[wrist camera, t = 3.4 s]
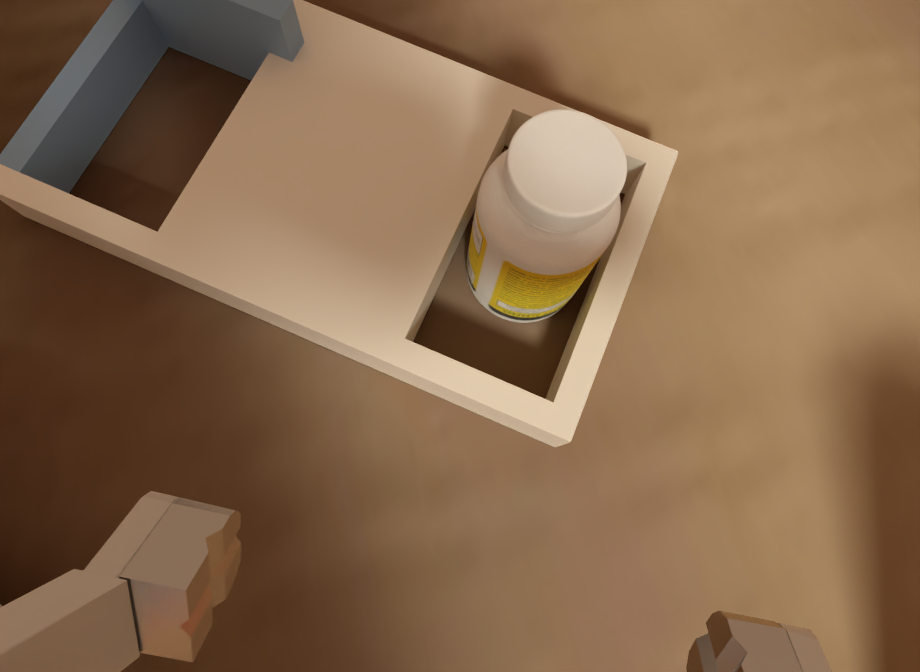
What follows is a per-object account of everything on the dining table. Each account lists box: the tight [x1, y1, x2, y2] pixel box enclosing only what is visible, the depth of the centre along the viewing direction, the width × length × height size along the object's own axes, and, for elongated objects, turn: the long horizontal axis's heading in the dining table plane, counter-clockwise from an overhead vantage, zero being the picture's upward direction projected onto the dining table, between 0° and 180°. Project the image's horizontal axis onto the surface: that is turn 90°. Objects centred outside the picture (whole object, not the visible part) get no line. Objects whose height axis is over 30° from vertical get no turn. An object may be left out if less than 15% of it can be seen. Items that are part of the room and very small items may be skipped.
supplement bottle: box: [466, 109, 627, 323], centre depth 24 cm, size 5×5×10 cm
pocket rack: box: [0, 0, 679, 447], centre depth 27 cm, size 14×27×6 cm, turn 67°
